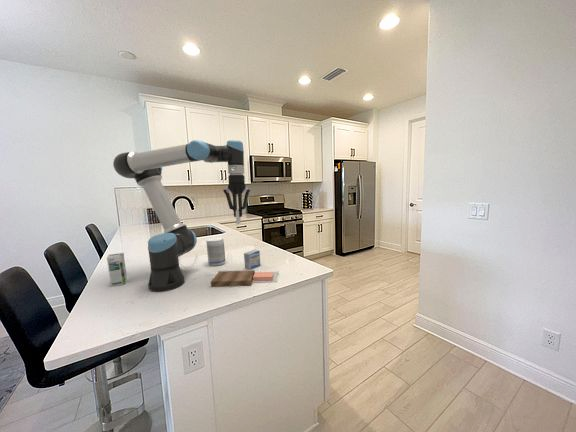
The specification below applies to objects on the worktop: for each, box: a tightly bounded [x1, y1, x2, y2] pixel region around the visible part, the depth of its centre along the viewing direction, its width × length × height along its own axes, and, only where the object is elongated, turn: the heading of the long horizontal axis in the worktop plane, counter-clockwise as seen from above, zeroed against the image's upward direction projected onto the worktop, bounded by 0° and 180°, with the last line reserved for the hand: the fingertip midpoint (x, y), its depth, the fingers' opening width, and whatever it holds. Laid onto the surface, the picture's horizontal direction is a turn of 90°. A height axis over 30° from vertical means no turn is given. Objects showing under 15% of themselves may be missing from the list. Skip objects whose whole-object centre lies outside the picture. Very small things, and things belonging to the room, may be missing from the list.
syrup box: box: [106, 252, 128, 287], centre depth 112 cm, size 6×6×14 cm
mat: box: [252, 271, 279, 284], centre depth 114 cm, size 11×12×1 cm
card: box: [253, 271, 274, 281], centre depth 112 cm, size 9×6×2 cm, turn 89°
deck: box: [210, 269, 256, 288], centre depth 111 cm, size 18×12×2 cm, turn 89°
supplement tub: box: [206, 236, 226, 267], centre depth 135 cm, size 10×10×15 cm
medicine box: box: [243, 249, 261, 271], centre depth 129 cm, size 8×4×9 cm, turn 143°
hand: (238, 223), depth 115 cm, fingers closed
